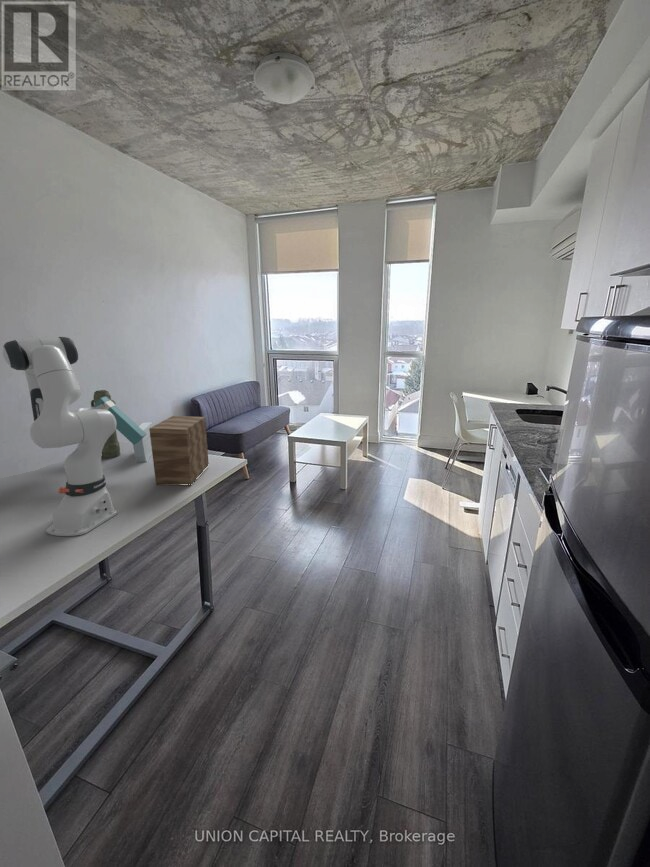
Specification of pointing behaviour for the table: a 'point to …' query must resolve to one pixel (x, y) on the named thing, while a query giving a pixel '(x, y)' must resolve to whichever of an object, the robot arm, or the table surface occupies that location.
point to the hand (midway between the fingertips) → (107, 404)
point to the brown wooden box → (179, 449)
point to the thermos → (112, 444)
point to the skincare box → (143, 444)
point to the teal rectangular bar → (123, 421)
